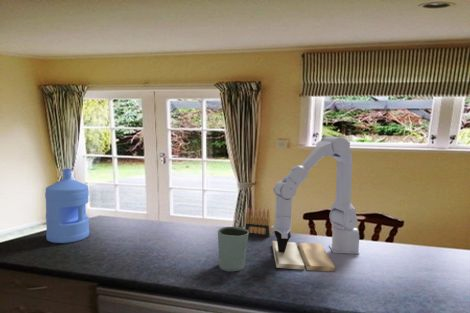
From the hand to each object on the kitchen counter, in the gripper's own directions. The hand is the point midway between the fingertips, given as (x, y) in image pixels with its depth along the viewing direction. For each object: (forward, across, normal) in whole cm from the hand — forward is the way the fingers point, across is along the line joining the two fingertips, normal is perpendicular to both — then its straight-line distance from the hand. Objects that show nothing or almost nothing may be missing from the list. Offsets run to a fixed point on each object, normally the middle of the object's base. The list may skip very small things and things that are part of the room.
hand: (281, 251), depth 120 cm
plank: (+1, 0, +2) cm, 2 cm away
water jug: (+3, -12, -85) cm, 86 cm away
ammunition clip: (+2, -23, -8) cm, 25 cm away
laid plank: (+2, 0, +12) cm, 12 cm away
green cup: (+2, +10, -17) cm, 20 cm away
